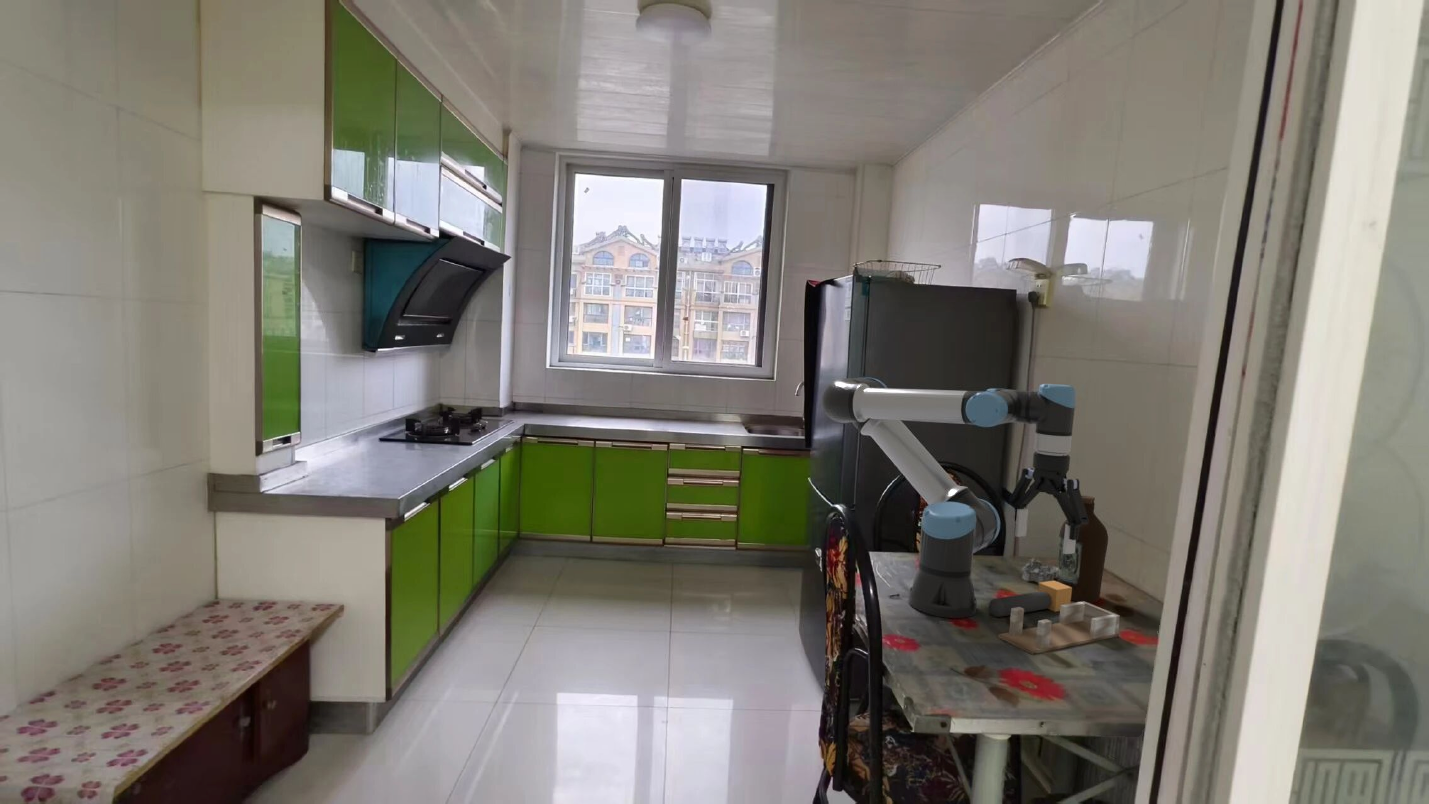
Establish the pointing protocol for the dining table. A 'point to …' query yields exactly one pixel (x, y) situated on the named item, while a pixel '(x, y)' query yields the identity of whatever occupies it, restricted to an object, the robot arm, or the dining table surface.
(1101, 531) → the olive oil
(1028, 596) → the grey handled block hammer
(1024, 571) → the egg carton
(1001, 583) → the dining table surface
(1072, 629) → the wooden stand
